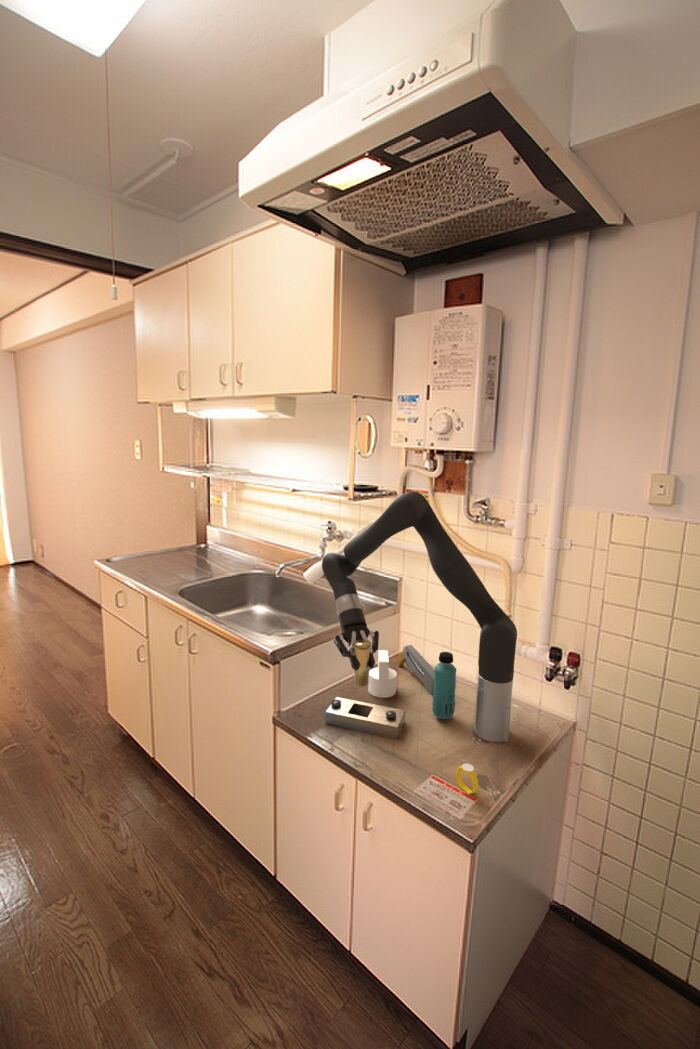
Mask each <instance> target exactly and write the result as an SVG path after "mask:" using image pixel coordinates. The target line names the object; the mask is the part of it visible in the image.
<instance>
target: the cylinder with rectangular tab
mask: <svg viewBox="0 0 700 1049" xmlns="http://www.w3.org/2000/svg"><path fill="white" fill-rule="evenodd" d="M377 651H378V656H377V667H373V668H371V669H369V674H368V688H367V689H368V690H367V691H368V693H370V695H372V696H374V697H376V698H391V697H393V696H395V695H396V692H397V681H398V680H397V679H398V678H397V677H398V675H397V674H398V673H397V671H396V670H394V669H392V668H390V666H389V665H390V660H389V659H390V658H389V650H386V649H385V650H384V649H378V650H377Z"/></svg>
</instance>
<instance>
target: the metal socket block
mask: <svg viewBox="0 0 700 1049" xmlns="http://www.w3.org/2000/svg"><path fill="white" fill-rule="evenodd" d="M405 717H406V710H403V709H399V708H394V707H388V706H383V705H379V704H373V703H369V702H363V701H359V700H354V699H349V698H343V697H341V696H340V697H339V696H336V697H335V698H334V699H332V700H331V704H330V705H329V707H328V708H327V709H326V711H325V720H324V721H325V724H327V725H331V726H335V727H341V728H343V729H348V730H353V731H358V732H362V733H367V734H371V735H377V736H381V737H386V738H390V739H394V740H398V738H399V735H400V733H401V731H402V729H403V727H404V724H405V721H406V720H405V719H406V718H405Z"/></svg>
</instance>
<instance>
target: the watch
mask: <svg viewBox="0 0 700 1049" xmlns="http://www.w3.org/2000/svg"><path fill="white" fill-rule="evenodd" d="M455 770H456V772H455V777H456V781H457V785H458V786H459V788H461V789H462V790H463V791H464V792H465V793H467V795H472V794H474V793H476V792H477V791H478V788H479V780H478V776H477V774H476V773H475V768H474V766H473V765H472V764H471V763H463V764H462V765H460V766H458V767H457V768H456V769H455ZM462 772H463V773H465V774H467V775H469V776H470V778H471V782H472V789H471V788H470V787H468V786H467V785H466V784H465V783H464V781H463V777H462Z"/></svg>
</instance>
